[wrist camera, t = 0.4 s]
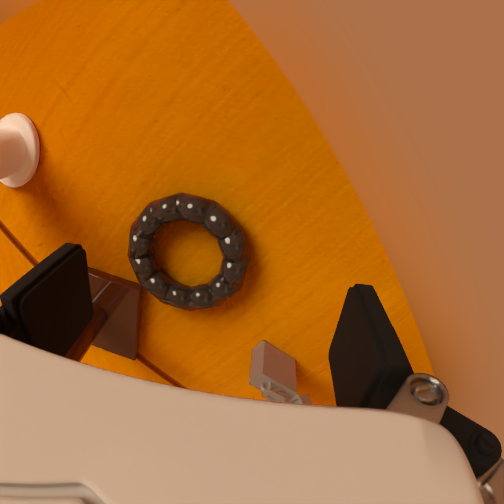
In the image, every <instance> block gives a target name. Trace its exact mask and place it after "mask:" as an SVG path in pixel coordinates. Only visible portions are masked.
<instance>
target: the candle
mask: <svg viewBox="0 0 504 504" xmlns="http://www.w3.org/2000/svg"><path fill="white" fill-rule="evenodd" d="M39 156H40V144H39V137H38V133H37V130H36V128H35V126H34V124H33V123H32V121H31V120H30V119H29V118H28V117H27V116H25V115H23V114H20V113H13V114H9V115H6V116H5V117H3V118H2V119H1V120H0V181H1V182H2V183H3V184H5V185H6V186H9V187H19V186H22V185H24V184H26V183H27V182H28V181H29V180H30V179H31V178H32V177H33V175H34V173H35V171H36V169H37V166H38V162H39Z"/></svg>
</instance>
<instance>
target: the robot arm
mask: <svg viewBox="0 0 504 504" xmlns="http://www.w3.org/2000/svg"><path fill="white" fill-rule="evenodd" d="M0 299H1V303H2V306H1V307H0V504H504V460H503V459H502V458H501V452H502V450H501V444H500V442H499V440H498V439H497V437H496V436H495V435H494V434H493V433H492V432H490V431H489V430H487V429H486V428H484V427H482V426H480V425H479V424H477V423H475V422H474V421H472V420H470V419H468V418H467V417H465V416H463V415H462V414H460V413H458V412H457V411H455V410H453V409H452V408H450V407H448V406H447V404H448V401H449V393H448V390H447V388H446V386H445V385H444V384H443V383H442V382H441V381H440V380H439V379H437V378H436V377H434V376H432V375H429V374H425V373H415V374H414V372H413V370H412V367H411V365H410V363H409V361H408V358H407V356H406V354H405V352H404V349H403V347H402V345H401V343H400V340H399V338H398V336H397V334H396V332H395V330H394V328H393V326H392V324H391V322H390V320H389V318H388V316H387V314H386V312H385V310H384V308H383V306H382V304H381V302H380V300H379V298H378V296H377V294H376V292H375V290H374V288H373V286H372V285H364V284H355V286H354V287H350V288H349V289H348V292H347V295H346V299H345V302H344V305H343V308H342V312H341V315H340V318H339V321H338V324H337V328H336V331H335V334H334V337H333V340H332V343H331V346H330V349H329V363H330V368H331V374H332V380H333V386H334V392H335V398H336V405H337V406H325V405H308V404H295V403H283V402H273V401H264V400H255V399H248V398H240V397H233V396H226V395H220V394H213V393H207V392H202V391H196V390H191V389H185V388H180V387H175V386H170V385H165V384H161V383H156V382H152V381H148V380H143V379H139V378H135V377H131V376H127V375H123V374H119V373H115V372H112V371H108V370H105V369H101V368H98V367H94V366H91V365H87V364H84V363H81V362H78V361H75V360H71V359H68V358H65V355H66V354H67V352H68V351H69V350H70V348H71V347H72V346H73V344H74V343H75V342H76V340H77V339H78V338H79V336H80V335H81V334H82V332H83V331H84V330H85V328H86V327H87V326H88V324H89V323H90V322H91V320H92V319H93V315H94V309H93V303H92V296H91V290H90V283H89V275H88V267H87V259H86V252H85V250H84V249H83V248H82V246H81V245H78V244H72V243H65V244H64V245H62V246H61V247H60V248H58V249H57V250H56V251H54V252H53V253H52V254H50V255H49V256H48V257H46V258H45V259H44V260H43V261H41V262H40V263H39V264H37V265H36V266H35V267H34V268H32V269H31V270H30V271H29V272H27V273H26V274H25V275H24V276H22V277H21V278H20V279H19V280H18V281H16V282H15V283H14V284H13V285H12V286H10V287H9V288H8V289H7V290H6V291H5V292H3V293H2V294H1V295H0Z"/></svg>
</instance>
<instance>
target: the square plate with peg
mask: <svg viewBox="0 0 504 504" xmlns="http://www.w3.org/2000/svg"><path fill="white" fill-rule="evenodd" d="M88 275H89V283H90V290H91V296H92V303H93V309H94V315H93V319H92V320H91V322H90V323H89V324H88V326H87V327H86V328H85V330H84V331H83V332H82V334H81V335H80V336H79V338H78V339H77V340H76V342H75V343H74V344H73V346H72V347H71V348H70V350H69V351H68V352H67V354H66V355H65V358H68V359H71V360H75V361H78V362H80V361H81V360H82V358H83V357H84V355H85V354H86V352H87V351H88V349H89V348H90V346H91V345H94V346H97V347H99V348H102V349H104V350H107V351H110V352H112V353H115V354H118V355H121V356H123V357H126V358H129V359H132V360H136V358H137V356H138V346H139V330H140V316H141V304H142V293H143V286H142V285H141V284H138V283H135V282H132V281H129V280H126V279H123V278H120V277H117V276H113V275H110V274H107V273H104V272H101V271H98V270H96V269H93V268H90V267H88Z"/></svg>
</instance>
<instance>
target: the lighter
mask: <svg viewBox="0 0 504 504" xmlns="http://www.w3.org/2000/svg"><path fill="white" fill-rule="evenodd" d="M249 384H250V385H252V386H254V387H256V388H258V389H260V390H261V392H262V397H264V398H266V399H268V400H270V401H273V402H286V403H295V404H308V405H312V403H311V401H310V398H309V396H308V395H300V394H297V384H296V362H295V359H293V358H292V357H290V356H289V355H287V354H285V353H284V352H282V351H281V350H279V349H277V348H276V347H274V346H273V345H271V344H269V343H268V342H266V341H261V342H260V343H259V344H258V345H257V346H256V347H255V348H253V351H252V361H251V370H250V379H249Z"/></svg>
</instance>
